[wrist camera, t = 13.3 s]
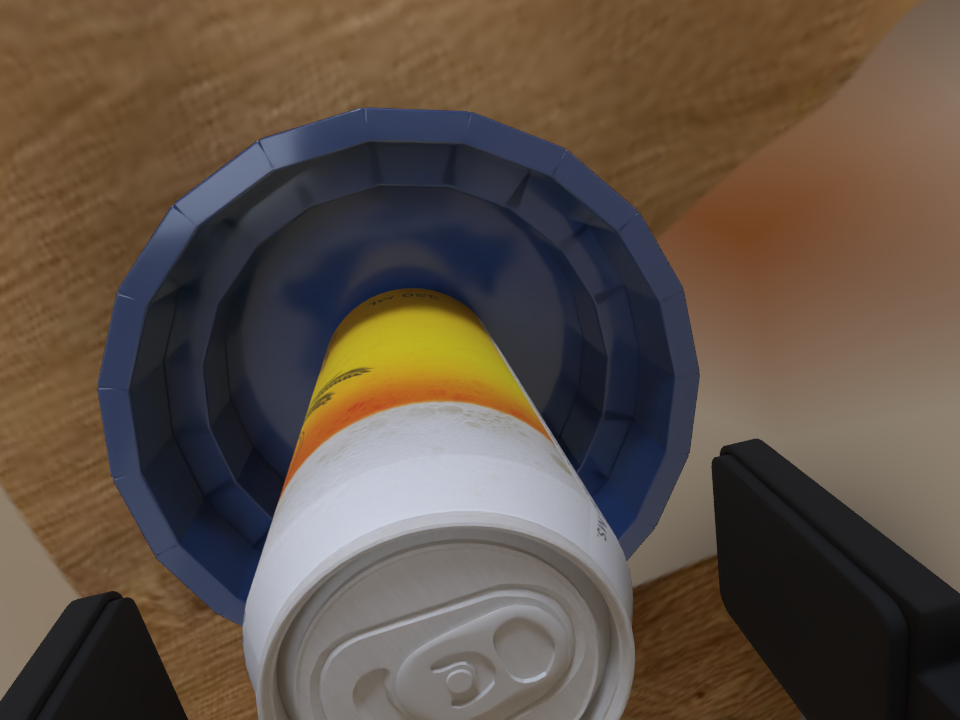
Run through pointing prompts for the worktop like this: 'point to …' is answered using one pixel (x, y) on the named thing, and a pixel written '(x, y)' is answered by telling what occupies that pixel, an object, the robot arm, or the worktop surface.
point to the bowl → (360, 276)
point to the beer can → (434, 542)
